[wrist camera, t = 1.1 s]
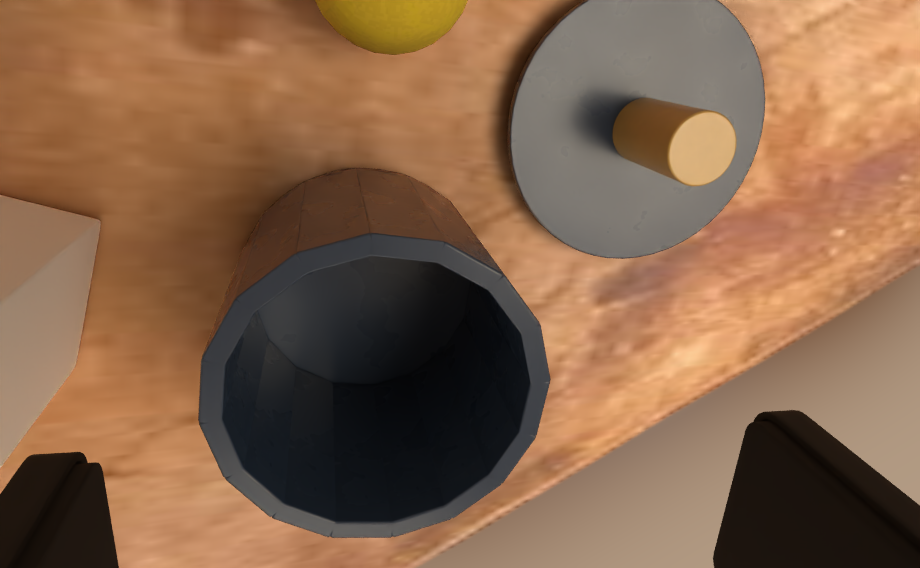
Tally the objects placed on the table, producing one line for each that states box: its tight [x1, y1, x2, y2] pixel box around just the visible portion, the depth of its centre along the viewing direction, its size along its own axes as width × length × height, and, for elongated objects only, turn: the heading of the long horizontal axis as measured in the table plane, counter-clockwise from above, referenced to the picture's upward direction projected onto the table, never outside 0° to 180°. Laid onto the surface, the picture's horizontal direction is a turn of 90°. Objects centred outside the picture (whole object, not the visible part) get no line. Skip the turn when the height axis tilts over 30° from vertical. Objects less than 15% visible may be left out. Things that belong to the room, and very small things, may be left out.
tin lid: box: [507, 0, 765, 259], centre depth 26 cm, size 12×12×6 cm
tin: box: [198, 168, 550, 538], centre depth 25 cm, size 11×11×10 cm
